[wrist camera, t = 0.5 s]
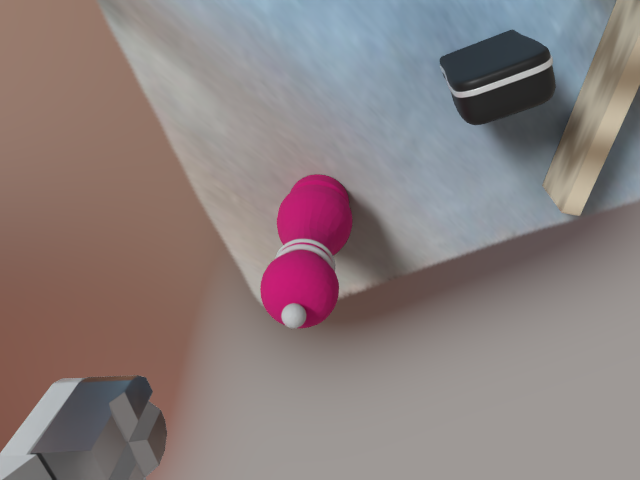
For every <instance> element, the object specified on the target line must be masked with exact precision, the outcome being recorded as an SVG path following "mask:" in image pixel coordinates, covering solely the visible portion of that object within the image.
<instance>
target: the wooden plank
mask: <svg viewBox="0 0 640 480" xmlns="http://www.w3.org/2000/svg"><path fill="white" fill-rule="evenodd" d="M639 85H640V0H617V1H616V4H615V6H614V8H613V11H612V13H611V16H610V18H609V21H608V23H607V26H606V28H605V31H604V33H603V36H602V38H601V41H600V43H599V46H598V48H597V51H596V53H595V56H594V58H593V61H592V63H591V66H590V68H589V71H588V73H587V76H586V78H585V81H584V83H583V86H582V88H581V90H580V93H579V95H578V98H577V100H576V103H575V105H574V108H573V110H572V113H571V115H570V118H569V120H568V123H567V125H566V128H565V130H564V133H563V135H562V138H561V140H560V143H559V145H558V148H557V150H556V153H555V155H554V158H553V160H552V163H551V165H550V168H549V170H548V172H547V175H546V177H545V180H544V182H543V185H542V186H543V187H544V189H545V190H546V191H547V193H548V194H549V196H550V197H551V198H552V200H553V201H554V203H555V204H556V205H557V207H558V208H559V210H560V211H561V212H562V213H566V214H572V215H578V216H580V214H581V212H582V210H583V208H584V206H585V203H586V201H587V199H588V197H589V195H590V193H591V190H592V188H593V186H594V184H595V182H596V179H597V177H598V175H599V173H600V171H601V168H602V166H603V164H604V162H605V160H606V158H607V155H608V153H609V151H610V149H611V147H612V144H613V142H614V140H615V138H616V136H617V133H618V131H619V129H620V127H621V125H622V123H623V120H624V118H625V116H626V114H627V112H628V109H629V107H630V105H631V103H632V101H633V98H634V96H635V94H636V92H637V90H638V88H639Z"/></svg>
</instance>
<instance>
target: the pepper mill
mask: <svg viewBox="0 0 640 480" xmlns="http://www.w3.org/2000/svg"><path fill="white" fill-rule="evenodd" d="M277 228H278V234H279V237H280V240H281V242H282V243H283V245H284V246H282V247H281V248H280V250H279V251H278V253H277V255H276V258H275V260H274V261H272V262H271V263H270V265H269V266H268V267H267V269H266V271H265V272H264V274H263V277H262V281H261V298H262V302H263V305H264V307H265V309H266V310H267V312H268V313H269V314H270V315H271V316H272V318H274V319H275V320H276V321H278V322H279V323H281V324H283V325H286V326H288V327H290V328H307V327H311V326H314V325H317V324H319V323H321V322H322V321H323V320H325V319H326V318H327V317H328V316H329V315H330V313H331V312H332V310H333V309H334V307H335V305H336V302H337V299H338V293H339V283H338V279H337V276H336V274H335V260H334V257H333V255H335V254H336V253H337V252H338V251H339V250H340V249H341V248H342V247H343V246H344V244H345V243H346V242H347V240H348V238H349V235H350V232H351V228H352V213H351V210H350V207H349V198H348V194H347V192H346V190H345V189H344V187H343V186H342V185H341V184H340V183H339V182H338V181H337V180H335V179H333V178H331V177H329V176H325V175H310V176H307V177H304V178H302V179H301V180H299V181H298V182H297V183H296V184H295V185H294V187H293V188H292V190H291V192H290V194H288V195H287V196H286V198H285V199H284V200H283V202H282V203H281V205H280V208H279V212H278V217H277Z"/></svg>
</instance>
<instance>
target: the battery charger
mask: <svg viewBox="0 0 640 480" xmlns="http://www.w3.org/2000/svg"><path fill="white" fill-rule="evenodd" d="M440 64H441V65H440V68H441V71H442V72H443V75H444V78H445V79H446V81H447V84H448V87H449V89H450V91H451V94H452V98H453V101H454V104H455V106H456V108H457V111H458V112H459V114H460V115H461V117H462V118H463V119H464V120H465V121H466V122H467V123H469V124H472V125H481V124H485V123H488V122H491V121H494V120H497V119H500V118H503V117H506V116H509V115H512V114H515V113H518V112H521V111H524V110H527V109H529V108H532V107H535V106H538V105H541V104H543V103H545V102H546V101H548V100H549V99H550V98H551V97H552V96H553V94H554V91H555V88H556V87H555V78H554V72H553V67H552V64H553V59H552V56H551V54H550V52H549V50H548V48H547V47H545V46H544V45H542V44H541V43H539V42H537V41H535V40H533V39H531V38H529V37H526V36H523V35H521V34H519V33H518V32H516V31H515V30H510V31H507V32H504V33H502V34H499V35H496V36H494V37H491V38H489V39H486V40H483V41H481V42H478V43H476V44H473V45H470V46H468V47H465V48H463V49H460V50H457V51H455V52H452V53H450V54H447V55H445V56H442V57H441V58H440Z"/></svg>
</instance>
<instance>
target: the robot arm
mask: <svg viewBox="0 0 640 480" xmlns="http://www.w3.org/2000/svg"><path fill="white" fill-rule="evenodd" d="M152 392H153V391H152V389H151V387H150V385H149V383H148V381H147V379H146V378H145V377H141V376H138V375H137V376H112V377H111V376H109V377H88V378H69V379H61V380H59V381H57V382H55V383H53V384H52V386H51V387H50V388H49V390H48V391H47V392H46V393H45V395H44V396H43V397H42V399H41V400H40V401H39V403H38V404H37V405H36V407H35V408H34V409H33V411H32V412H31V413H30V415H29V416H28V417H27V419H26V420H25V422H23V424H22V425H21V426H20V428H19V429H18V430H17V432H16V433H15V434H14V436H13V437H12V439H11V440H10V441H9V442H8V444H7V445H6V446H5V448H4V449H3V450H2V452H1V453H0V480H146V478H145V477H146V476H147V475H149V474H150V473H151V472H152V471H153V470H154V469H155V468H156V467H157V466H159V464H160V461H161V459H162V456H163V454H164V451H165V445H166V437H167V430H166V423H165V419H164V417H163V414H162V412H161V410H160V409H159V408H157V407H156V406H155V405H153V404H152V403H151V402H149V399H150V397H151V395H152Z"/></svg>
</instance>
